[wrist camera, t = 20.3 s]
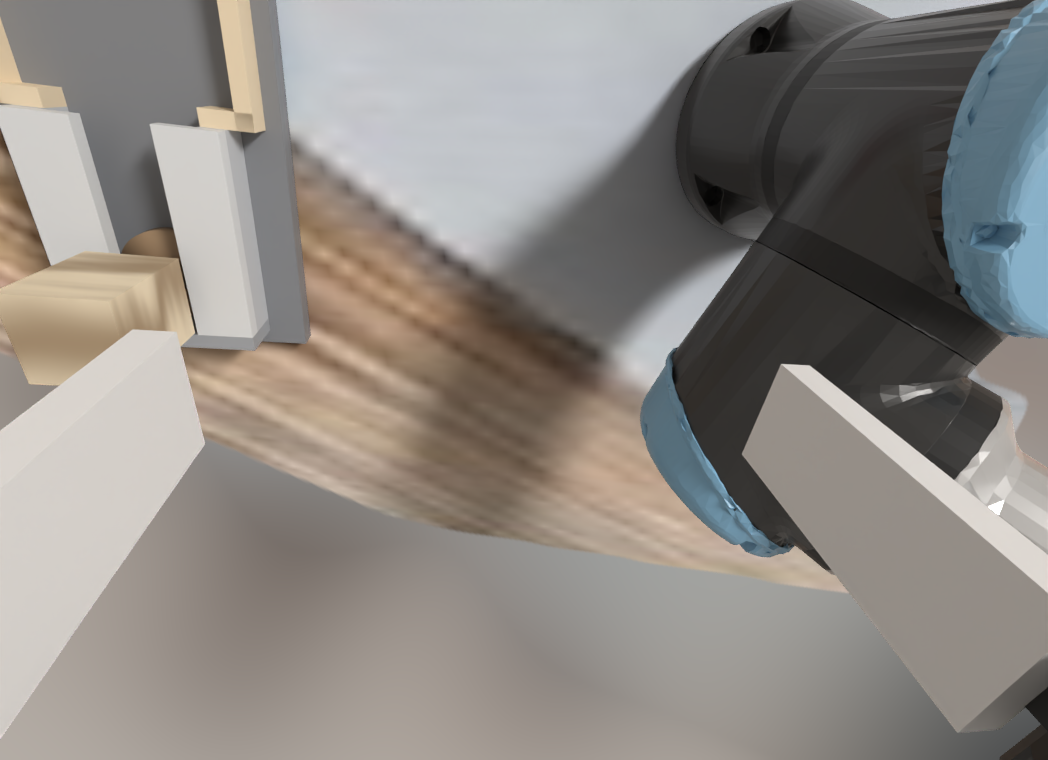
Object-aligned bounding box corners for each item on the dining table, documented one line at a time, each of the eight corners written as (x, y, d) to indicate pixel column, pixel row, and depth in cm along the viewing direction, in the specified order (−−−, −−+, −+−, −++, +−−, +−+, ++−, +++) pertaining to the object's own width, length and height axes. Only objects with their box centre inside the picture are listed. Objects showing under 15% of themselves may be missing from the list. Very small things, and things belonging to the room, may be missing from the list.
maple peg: (119, 222, 33) (-28, 282, 23) (217, 231, 34) (117, 292, 24) (142, 306, 36) (21, 392, 26) (232, 312, 37) (149, 396, 27)
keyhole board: (-102, -217, 23) (-222, -282, 19) (260, -143, 26) (224, -186, 22) (87, 322, 37) (41, 353, 33) (310, 335, 40) (293, 364, 36)
